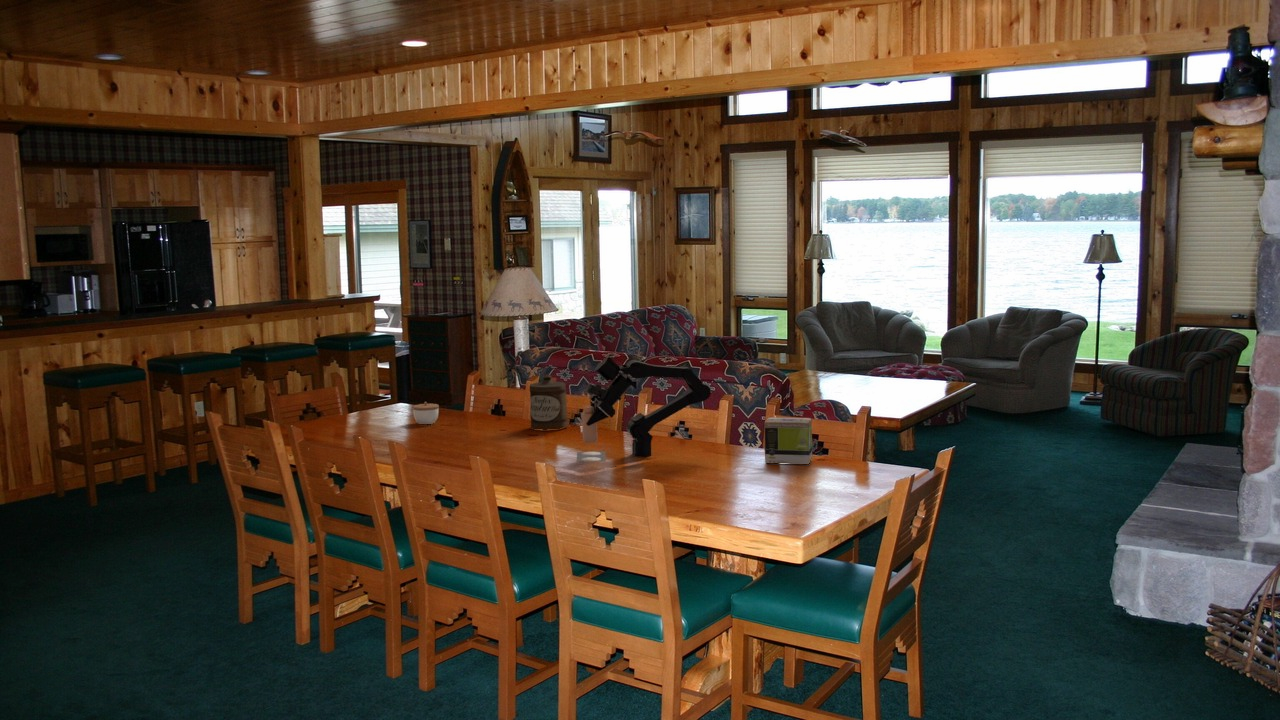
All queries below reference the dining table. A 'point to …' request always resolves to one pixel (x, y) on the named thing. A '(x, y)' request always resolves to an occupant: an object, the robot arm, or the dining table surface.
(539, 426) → the labelled canister
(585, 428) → the light brown tall cylinder
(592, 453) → the slate board
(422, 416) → the lidded jar
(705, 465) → the dining table surface
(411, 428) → the dining table surface
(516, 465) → the dining table surface
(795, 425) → the tea box
